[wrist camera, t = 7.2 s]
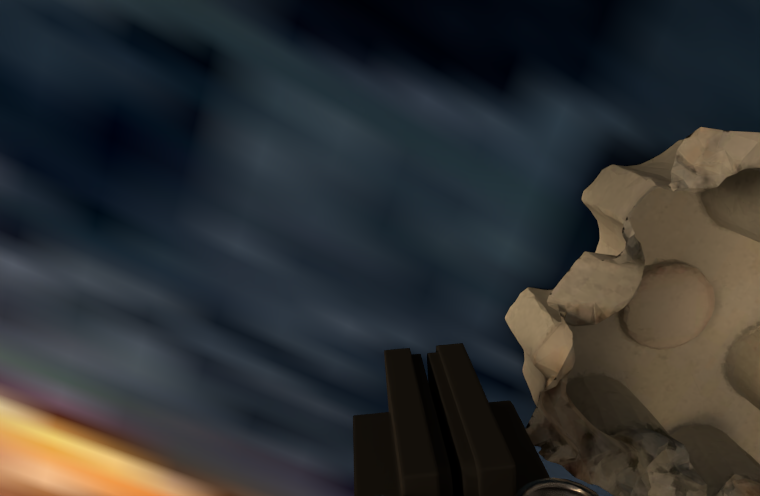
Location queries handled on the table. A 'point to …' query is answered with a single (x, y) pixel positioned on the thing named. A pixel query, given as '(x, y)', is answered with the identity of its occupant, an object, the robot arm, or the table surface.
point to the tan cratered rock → (656, 329)
